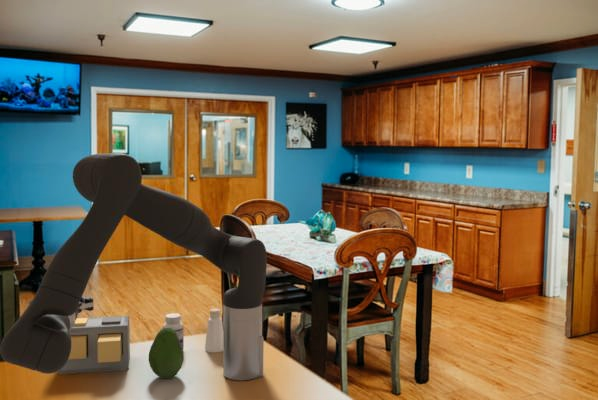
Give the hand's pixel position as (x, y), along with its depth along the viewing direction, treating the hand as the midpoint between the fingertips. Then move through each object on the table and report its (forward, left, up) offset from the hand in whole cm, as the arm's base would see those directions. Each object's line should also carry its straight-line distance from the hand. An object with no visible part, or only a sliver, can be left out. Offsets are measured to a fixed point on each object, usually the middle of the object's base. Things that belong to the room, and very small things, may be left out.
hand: (68, 294), depth 130 cm
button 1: (0, -12, -18) cm, 22 cm away
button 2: (-8, -9, -18) cm, 21 cm away
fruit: (-21, -3, -22) cm, 30 cm away
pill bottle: (-23, -21, -22) cm, 38 cm away
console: (-4, -14, -22) cm, 26 cm away
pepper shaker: (-34, -20, -22) cm, 45 cm away
